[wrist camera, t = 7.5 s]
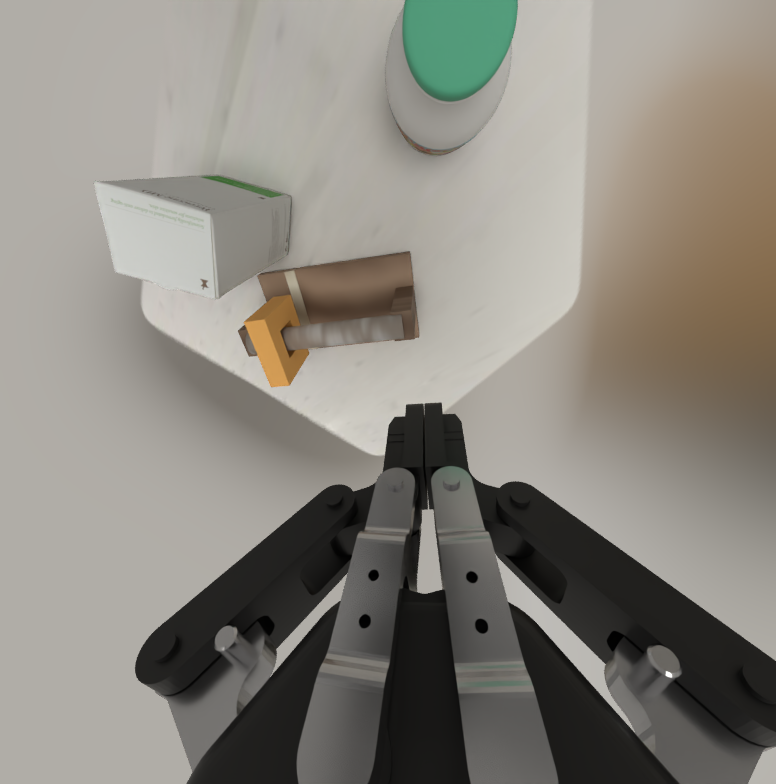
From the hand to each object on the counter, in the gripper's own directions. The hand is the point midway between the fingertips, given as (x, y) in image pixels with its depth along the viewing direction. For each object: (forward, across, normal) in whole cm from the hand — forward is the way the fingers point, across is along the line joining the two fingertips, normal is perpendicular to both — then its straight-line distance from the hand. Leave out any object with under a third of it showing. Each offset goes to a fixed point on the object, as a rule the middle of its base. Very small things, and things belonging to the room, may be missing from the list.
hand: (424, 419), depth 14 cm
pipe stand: (+28, +10, +4) cm, 30 cm away
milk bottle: (+28, -2, -13) cm, 31 cm away
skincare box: (+28, +18, -6) cm, 34 cm away
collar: (+22, +15, +4) cm, 27 cm away
